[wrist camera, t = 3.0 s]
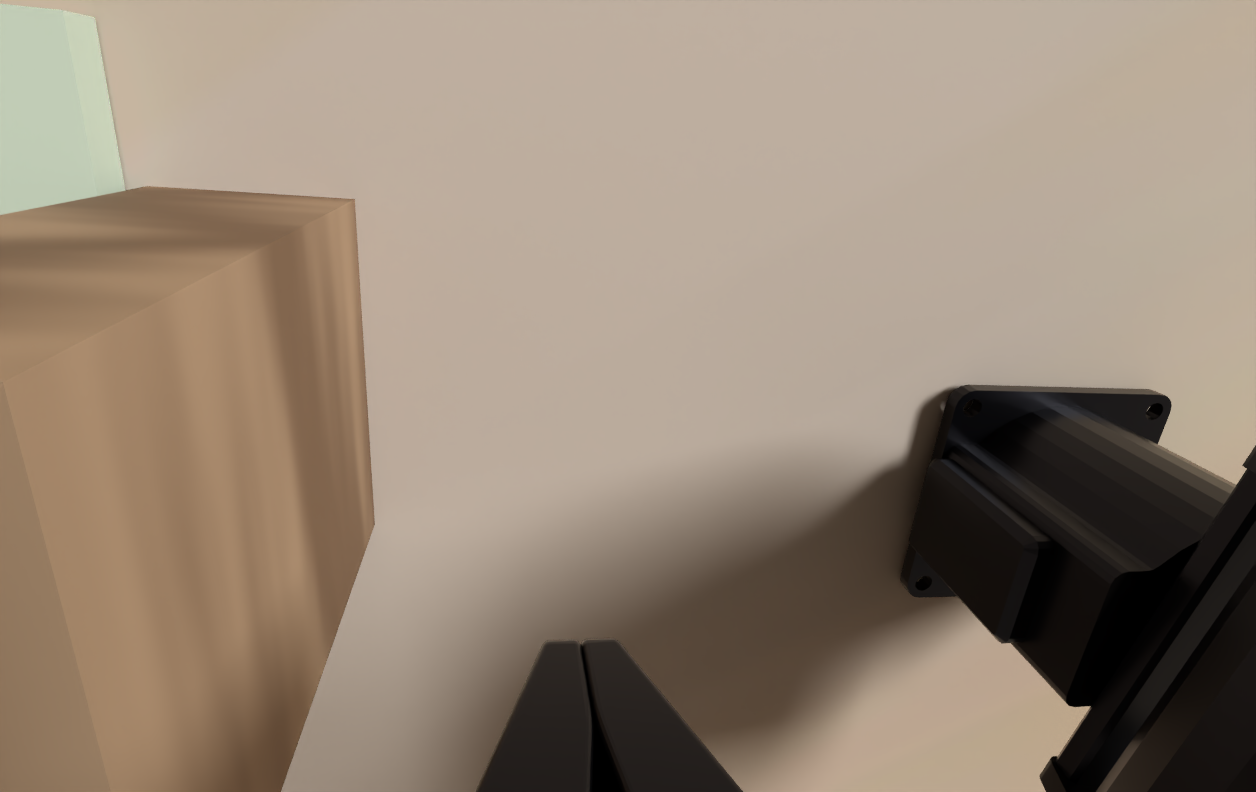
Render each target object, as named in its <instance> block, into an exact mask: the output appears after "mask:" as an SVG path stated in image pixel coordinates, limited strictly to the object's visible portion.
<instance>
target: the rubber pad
mask: <svg viewBox="0 0 1256 792" xmlns="http://www.w3.org/2000/svg"><path fill="white" fill-rule="evenodd" d="M121 191H125V186H124V180H123V174H122V169H121V163H120V157H119V152H118V146H117V140H116V135H115V129H114V123H113V118H112V112H111V106H110V101H109V95H108V89H107V84H106V78H105V72H104V67H103V61H102V55H101V50H100V44H99V38H98V33H97V27H96V21H95V17H91V16H87V15H82V14H78V13H73V12H69V11H65V10H57V9H47V8H37V7H27V6H17V5H6V4H0V215H3V214H8V213H13V212H18V211H23V210H29V209H34V208H39V207H44V206H49V205H54V204H59V203H64V202H70V201H75V200H80V199H85V198H90V197H95V196H100V195H105V194H111V193H116V192H121Z"/></svg>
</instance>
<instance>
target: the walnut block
mask: <svg viewBox="0 0 1256 792" xmlns="http://www.w3.org/2000/svg"><path fill="white" fill-rule="evenodd" d="M374 525H375V522H374V506H373V490H372V473H371V457H370V441H369V425H368V409H367V392H366V376H365V360H364V344H363V328H362V311H361V295H360V279H359V263H358V247H357V230H356V214H355V199H342V198H326V197H310V196H294V195H278V194H262V193H246V192H230V191H214V190H198V189H183V188H167V187H151V186H146V187H141V188H136V189H131V190H126V191H121V192H116V193H111V194H105V195H100V196H95V197H90V198H85V199H80V200H75V201H70V202H64V203H59V204H54V205H49V206H44V207H39V208H34V209H29V210H23V211H18V212H13V213H8V214H3V215H0V792H281V789H282V787H283V784H284V781H285V778H286V775H287V772H288V769H289V767H290V764H291V761H292V758H293V755H294V752H295V750H296V747H297V744H298V741H299V738H300V735H301V732H302V730H303V727H304V724H305V721H306V718H307V715H308V713H309V710H310V707H311V704H312V701H313V698H314V695H315V693H316V690H317V687H318V684H319V681H320V678H321V676H322V673H323V670H324V667H325V664H326V661H327V658H328V656H329V653H330V650H331V647H332V644H333V641H334V639H335V636H336V633H337V630H338V627H339V624H340V621H341V619H342V616H343V613H344V610H345V607H346V604H347V602H348V599H349V596H350V593H351V590H352V587H353V584H354V582H355V579H356V576H357V573H358V570H359V567H360V565H361V562H362V559H363V556H364V553H365V550H366V547H367V545H368V542H369V539H370V536H371V533H372V530H373V527H374Z"/></svg>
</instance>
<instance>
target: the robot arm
mask: <svg viewBox="0 0 1256 792" xmlns="http://www.w3.org/2000/svg"><path fill="white" fill-rule="evenodd" d="M970 400H973V403H972V404H971V406H970V408H968V409H967V410H965V411H964V406H965V405H966V403H967V402H969V401H970ZM1171 406H1172V405H1171V401H1170V399H1169V398H1168V397H1167V396H1165V395H1163V394H1160V393H1158V392H1156V391H1153V390H1149V389H1113V388H1073V387H1033V386H993V385H965V386H961V387H959V388H957V389H955V390H954V391H953V392H952V393H951V394H950V396H949V398H948V400H947V402H946V406H945V410H944V414H943V417H942V421H941V425H940V429H939V433H938V436H937V440H936V444H935V448H934V452H933V455H932V459H931V463H930V465H929V467H928V469H927V473H926V477H925V481H924V484H923V488H922V492H921V496H920V500H919V503H918V507H917V511H916V515H915V519H914V522H913V526H912V530H911V534H910V538H909V546H908V550H907V554H906V558H905V561H904V565H903V569H902V573H901V582H902V585H903V586H904V587H905V588H906V590H907V591H908V592H909V593H910V594H911V595H913V596H914V597H951V596H957V597H958V598H959V599H960V600H961V601H962V602H963V603H964V604H965V605H966V606H967V608H968V609H969V610H970V611H971V612H972V613H973V614H974V615H975V616H976V617H977V619H978V620H979V621H980V622H981V623H982V624H983V625H984V626H985V627H986V628H987V630H988V631H989V632H990V633H991V634H992V635H993V636H994V637H995V638H996V639H997V640H998V641H999V642H1001V643H1011V644H1012V645H1013V646H1014V647H1015V648H1016V649H1017V650H1018V652H1019V653H1020V654H1021V655H1022V656H1023V657H1024V658H1025V659H1026V660H1027V661H1028V662H1029V663H1030V664H1031V666H1032V667H1033V668H1034V669H1035V670H1036V671H1037V672H1038V673H1039V674H1040V675H1041V676H1042V677H1043V678H1044V679H1045V681H1046V682H1047V683H1048V684H1049V685H1050V686H1051V687H1052V688H1053V689H1054V690H1055V691H1056V692H1057V693H1058V695H1059V696H1060V697H1061V698H1062V699H1063V700H1064V701H1065V702H1066V703H1067V704H1068V705H1069V706H1073V707H1081V706H1091V707H1090V709H1089V710H1088V712H1087V713H1086V715H1085V716H1084V718H1083V719H1082V721H1081V722H1080V724H1079V725H1078V727H1077V728H1076V730H1075V731H1074V733H1073V734H1072V736H1071V737H1070V739H1069V740H1068V742H1067V744H1066V745H1065V747H1064V748H1063V750H1062V751H1061V753H1060V754H1059V756H1058V757H1057V756H1053V757H1051V759H1050V760H1049V762H1048V764H1047V765H1046V767H1045V768H1044V770H1043V771H1042V773H1041V774H1040V779H1041V782H1042V784H1043V786H1044V788H1045V790H1046V792H1256V446H1255V447H1254V449H1253V450H1252V452H1251V453H1250V455H1249V456H1248V458H1247V459H1246V461H1245V462H1244V464H1243V465H1242V466H1244V467H1245V468H1247V470H1246V471H1245V473H1244V474H1243V476H1242V477H1241V479H1240V481H1239V482H1238V484H1237V485H1235V484H1233V483H1231V482H1229V481H1227V480H1225V479H1223V478H1221V477H1220V476H1218V475H1216V474H1214V473H1212V472H1210V471H1208V470H1206V469H1204V468H1202V467H1200V466H1198V465H1196V464H1194V463H1192V462H1191V461H1189V460H1187V459H1185V458H1183V457H1181V456H1179V455H1177V454H1175V453H1173V452H1171V451H1169V450H1167V449H1165V448H1163V447H1162V446H1160V445H1158V442H1159V439H1160V437H1161V434H1162V432H1163V429H1164V426H1165V424H1166V421H1167V419H1168V416H1169V414H1170V410H1171ZM1149 407H1150V408H1149ZM1148 408H1149V410H1148ZM1147 410H1148V411H1147ZM1146 411H1147V412H1146ZM920 577H923V578H922V579H921V580H920V581H917V580H918V579H919V578H920ZM476 792H743V791H742V790H741V789H740V787H739V786H738V785H737V784H736V783H735V781H734V780H733V779H732V778H731V776H730V775H729V774H728V773H727V772H726V770H725V769H724V768H723V767H722V766H721V764H720V763H719V762H718V761H717V760H716V758H715V757H714V756H713V755H712V754H711V752H710V751H709V750H708V749H707V747H706V746H705V745H704V744H703V743H702V741H701V740H700V739H699V738H698V737H697V735H696V734H695V733H694V732H693V731H692V729H691V728H690V727H689V726H688V724H687V723H686V722H685V721H684V720H683V718H682V717H681V716H680V715H679V714H678V712H677V711H676V710H675V709H674V708H673V706H672V705H671V704H670V703H669V701H668V700H667V699H666V698H665V697H664V695H663V694H662V693H661V692H660V691H659V689H658V688H657V687H656V686H655V685H654V683H653V682H652V681H651V680H650V679H649V677H648V676H647V675H646V674H645V672H644V671H643V670H642V669H641V668H640V666H639V665H638V664H637V663H636V662H635V660H634V659H633V658H632V657H631V656H630V654H629V653H628V652H627V651H626V649H625V648H624V647H623V646H622V645H621V643H620V642H619V641H618V640H616V639H614V638H599V639H585V640H584V641H582V643H581V645H580V643H579V642H578V641H577V640H574V639H573V640H549V641H546V642H545V643H544V644H543V645H542V647H541V649H540V651H539V654H538V656H537V658H536V660H535V662H534V665H533V667H532V669H531V671H530V673H529V676H528V678H527V680H526V682H525V684H524V687H523V689H522V691H521V693H520V695H519V697H518V700H517V702H516V704H515V706H514V708H513V711H512V713H511V715H510V717H509V719H508V722H507V724H506V726H505V728H504V730H503V733H502V735H501V737H500V739H499V741H498V743H497V746H496V748H495V750H494V752H493V754H492V757H491V759H490V761H489V763H488V765H487V768H486V770H485V772H484V774H483V776H482V779H481V781H480V783H479V785H478V787H477V789H476Z"/></svg>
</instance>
